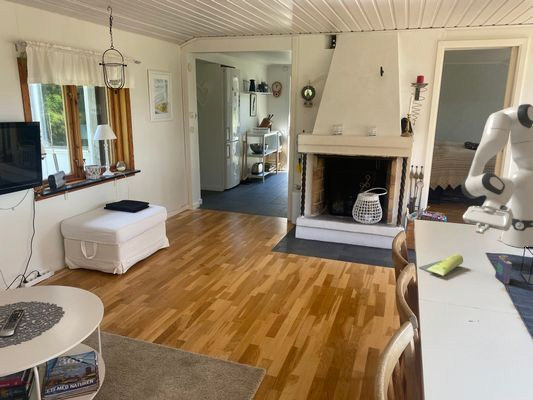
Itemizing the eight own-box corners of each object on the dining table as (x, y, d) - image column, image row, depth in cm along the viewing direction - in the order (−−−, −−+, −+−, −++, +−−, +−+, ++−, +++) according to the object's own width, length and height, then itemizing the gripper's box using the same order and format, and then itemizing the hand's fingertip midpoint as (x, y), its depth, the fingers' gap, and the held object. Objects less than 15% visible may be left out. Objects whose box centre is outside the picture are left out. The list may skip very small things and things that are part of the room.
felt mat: (441, 261, 184) (441, 260, 184) (461, 268, 176) (461, 267, 176) (418, 268, 176) (418, 267, 176) (438, 276, 168) (438, 275, 168)
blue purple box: (510, 284, 161) (514, 259, 158) (502, 284, 161) (506, 259, 159) (500, 275, 170) (504, 251, 167) (493, 275, 170) (496, 251, 168)
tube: (460, 251, 177) (436, 264, 166) (467, 261, 175) (443, 275, 164) (450, 256, 181) (426, 269, 170) (456, 266, 180) (432, 280, 169)
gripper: (468, 201, 192) (455, 223, 188) (514, 208, 175) (500, 234, 172) (472, 208, 195) (459, 231, 192) (517, 217, 179) (504, 242, 175)
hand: (479, 232), depth 182 cm, fingers closed
